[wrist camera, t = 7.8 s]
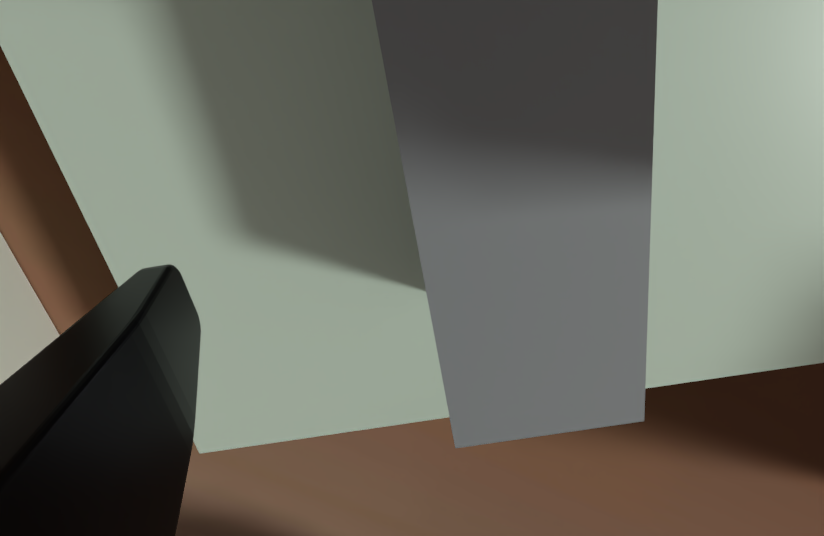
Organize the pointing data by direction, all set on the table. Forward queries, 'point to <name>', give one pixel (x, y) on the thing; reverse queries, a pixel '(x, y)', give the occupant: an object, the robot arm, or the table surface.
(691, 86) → the lid
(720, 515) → the table surface
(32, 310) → the storage box
